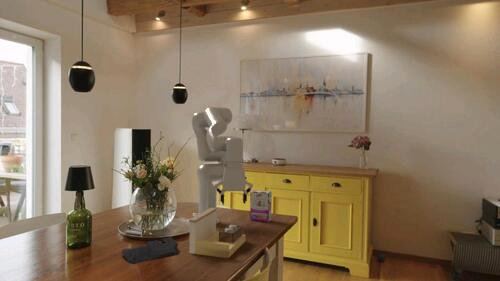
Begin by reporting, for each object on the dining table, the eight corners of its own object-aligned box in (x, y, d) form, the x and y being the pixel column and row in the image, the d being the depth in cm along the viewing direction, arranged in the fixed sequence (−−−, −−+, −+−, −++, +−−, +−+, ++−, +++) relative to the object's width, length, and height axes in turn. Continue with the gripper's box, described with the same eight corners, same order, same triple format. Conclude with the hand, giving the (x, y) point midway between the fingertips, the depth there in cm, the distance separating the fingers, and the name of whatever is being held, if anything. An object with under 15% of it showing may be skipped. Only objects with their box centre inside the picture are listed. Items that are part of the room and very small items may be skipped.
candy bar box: (271, 220, 199) (272, 191, 199) (268, 222, 195) (269, 192, 194) (253, 218, 204) (253, 189, 203) (249, 220, 199) (250, 191, 198)
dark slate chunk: (117, 254, 146) (117, 242, 146) (168, 244, 159) (168, 233, 159) (130, 266, 134) (130, 254, 134) (183, 254, 147) (183, 243, 147)
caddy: (219, 241, 153) (219, 230, 153) (228, 233, 165) (229, 223, 165) (233, 242, 152) (233, 232, 151) (242, 234, 163) (242, 224, 163)
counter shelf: (188, 253, 147) (188, 219, 146) (210, 237, 169) (210, 207, 168) (227, 258, 142) (228, 223, 141) (245, 241, 163) (245, 210, 163)
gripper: (215, 166, 154) (214, 205, 155) (254, 166, 157) (253, 204, 158) (214, 164, 162) (213, 201, 163) (251, 164, 165) (251, 200, 166)
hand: (233, 203), depth 160 cm, fingers open, 9 cm apart
